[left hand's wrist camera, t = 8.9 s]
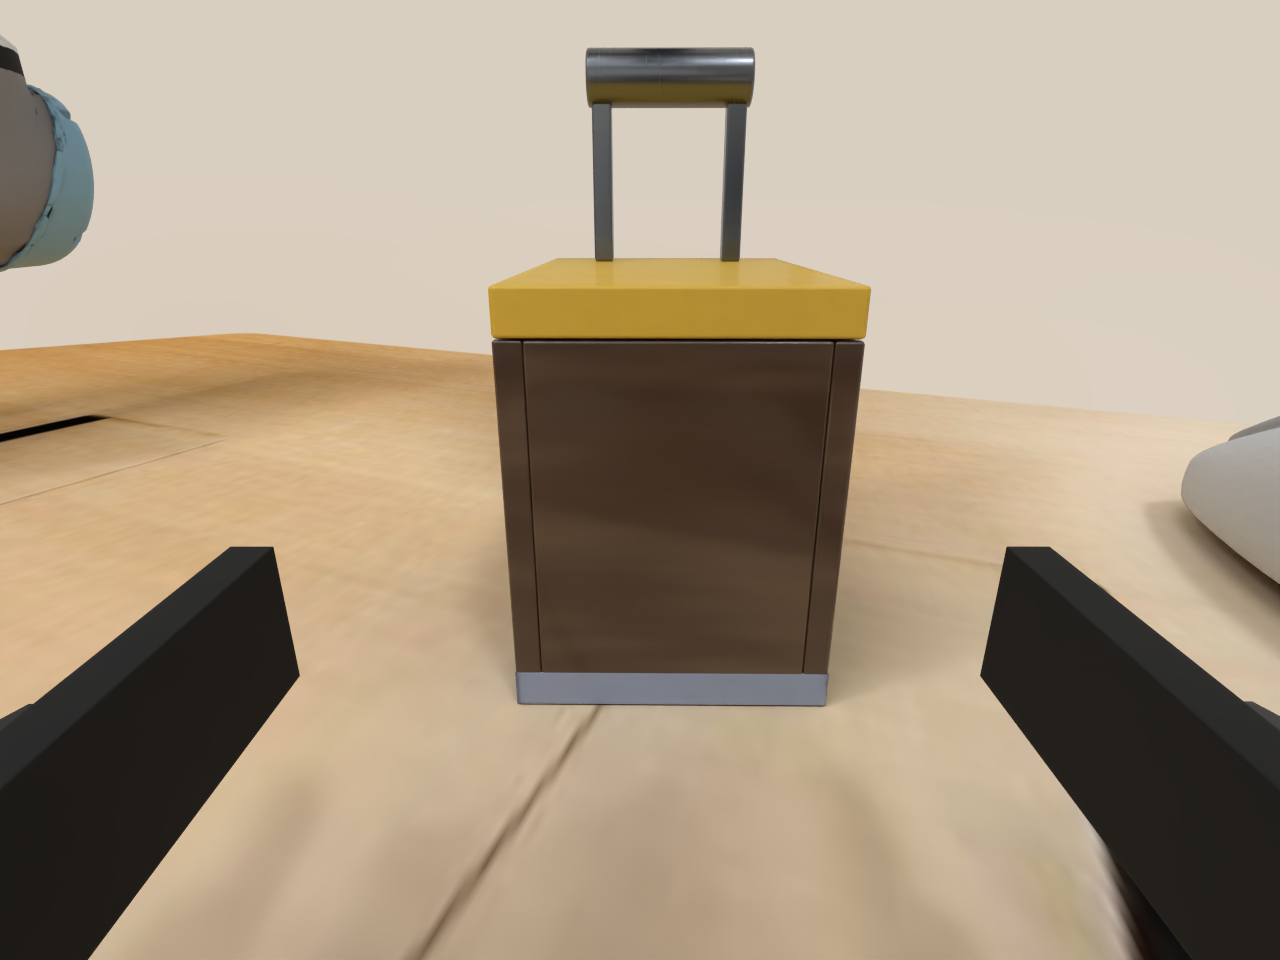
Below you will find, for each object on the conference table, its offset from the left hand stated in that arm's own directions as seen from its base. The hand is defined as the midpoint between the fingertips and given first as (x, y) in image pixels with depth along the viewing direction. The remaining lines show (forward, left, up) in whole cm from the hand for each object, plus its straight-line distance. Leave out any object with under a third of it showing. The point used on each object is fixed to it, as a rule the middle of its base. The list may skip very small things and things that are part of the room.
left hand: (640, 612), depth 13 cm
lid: (+11, -8, +4) cm, 14 cm away
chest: (+10, -7, -7) cm, 15 cm away
